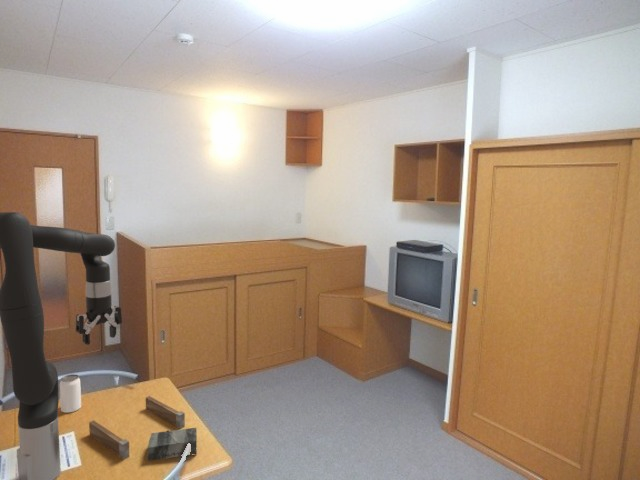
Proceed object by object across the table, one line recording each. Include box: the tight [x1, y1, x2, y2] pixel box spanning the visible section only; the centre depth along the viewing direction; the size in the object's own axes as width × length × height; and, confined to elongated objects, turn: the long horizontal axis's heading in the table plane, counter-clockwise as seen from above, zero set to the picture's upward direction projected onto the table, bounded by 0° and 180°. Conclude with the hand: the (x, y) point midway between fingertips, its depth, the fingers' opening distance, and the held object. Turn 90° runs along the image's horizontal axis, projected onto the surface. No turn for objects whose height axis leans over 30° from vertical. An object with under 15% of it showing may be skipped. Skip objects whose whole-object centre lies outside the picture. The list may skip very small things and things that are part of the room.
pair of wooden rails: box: [88, 395, 186, 461], centre depth 142 cm, size 22×20×5 cm
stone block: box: [147, 427, 198, 462], centre depth 133 cm, size 9×14×5 cm, turn 104°
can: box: [59, 373, 82, 414], centre depth 153 cm, size 6×6×12 cm
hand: (100, 340), depth 141 cm, fingers open, 8 cm apart
